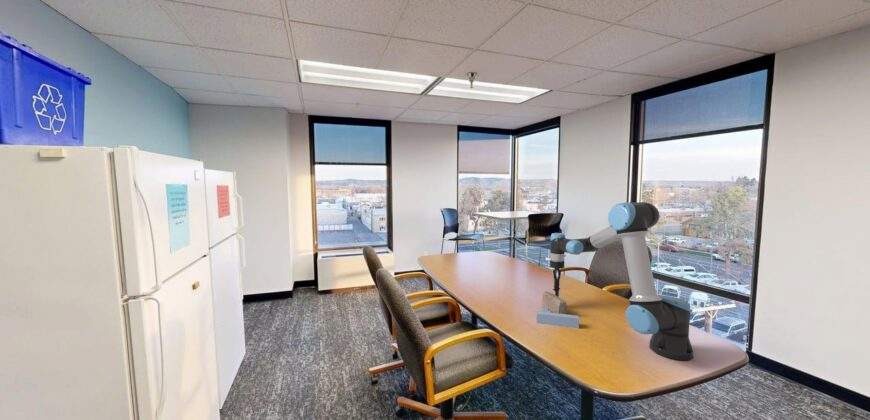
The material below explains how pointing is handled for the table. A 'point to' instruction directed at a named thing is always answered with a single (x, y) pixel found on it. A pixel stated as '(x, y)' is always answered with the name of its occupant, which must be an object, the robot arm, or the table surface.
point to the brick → (554, 303)
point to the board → (557, 319)
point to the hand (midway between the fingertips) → (556, 301)
